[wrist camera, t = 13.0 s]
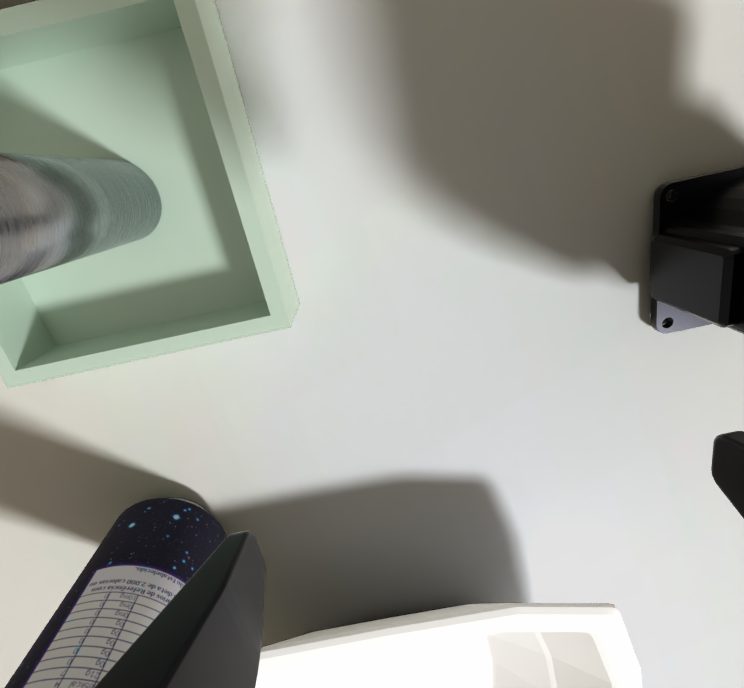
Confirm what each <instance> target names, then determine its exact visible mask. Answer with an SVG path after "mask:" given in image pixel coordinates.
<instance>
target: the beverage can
mask: <svg viewBox="0 0 744 688" xmlns="http://www.w3.org/2000/svg"><path fill="white" fill-rule="evenodd" d="M225 539H226V535H225V532H224V530H223V528H222V527H221V525H220V524H219V523H218V521H217V520H216V519H215V518H214V517H213V516H212V515H211V514H210V513H209V512H208V511H207V510H205V509H204V508H203V507H202V506H200V505H198V504H196V503H194V502H192V501H189V500H185V499H180V498H157V499H150V500H145V501H142V502H139V503H137V504H135V505H133V506H131V507H129V508H128V509H126V510H125V511H124V512H123V513H122V514H121V515H120V516H119V517H118V519H117V520H116V522H115V523H114V525H113V526H112V528H111V529H110V531H109V532H108V534H107V535H106V537H105V538H104V540H103V541H102V543H101V544H100V546H99V547H98V549H97V550H96V552H95V553H94V555H93V556H92V558H91V559H90V561H89V562H88V564H87V565H86V567H85V568H84V570H83V571H82V573H81V574H80V576H79V577H78V579H77V580H76V582H75V583H74V585H73V586H72V588H71V589H70V591H69V592H68V594H67V595H66V597H65V598H64V600H63V601H62V603H61V604H60V606H59V607H58V609H57V610H56V612H55V613H54V615H53V616H52V618H51V619H50V621H49V622H48V624H47V625H46V627H45V628H44V630H43V631H42V633H41V634H40V636H39V637H38V639H37V640H36V642H35V643H34V645H33V646H32V648H31V649H30V651H29V652H28V654H27V655H26V657H25V658H24V660H23V661H22V663H21V664H20V666H19V667H18V669H17V670H16V672H15V673H14V675H13V676H12V678H11V679H10V681H9V682H8V684H7V685H6V687H5V688H94V687H95V686H96V685H97V684H98V682H99V681H100V680H101V679H102V678H103V677H104V676H105V675H106V673H107V672H108V671H109V670H110V669H111V668H112V667H113V665H114V664H115V663H116V662H117V661H118V660H119V659H120V658H121V656H122V655H123V654H124V653H125V652H126V651H127V650H128V648H129V647H130V646H131V645H132V644H133V643H134V642H135V641H136V639H137V638H138V637H139V636H140V635H141V634H142V633H143V631H144V630H145V629H146V628H147V627H148V626H149V625H150V624H151V622H152V621H153V620H154V619H155V618H156V617H157V616H158V614H159V613H160V612H161V611H162V610H163V609H164V608H165V607H166V605H167V604H168V603H169V602H170V601H171V600H172V599H173V597H174V596H175V595H176V594H177V593H178V592H179V591H180V590H181V588H182V587H183V586H184V585H185V584H186V583H187V582H188V580H189V579H190V578H191V577H192V576H193V575H194V574H195V573H196V571H197V570H198V569H199V568H200V567H201V566H202V565H203V563H204V562H205V561H206V560H207V559H208V558H209V557H210V556H211V554H212V553H213V552H214V551H215V550H216V549H217V548H218V546H219V545H220V544H221V543H222V542H223V541H224V540H225Z"/></svg>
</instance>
